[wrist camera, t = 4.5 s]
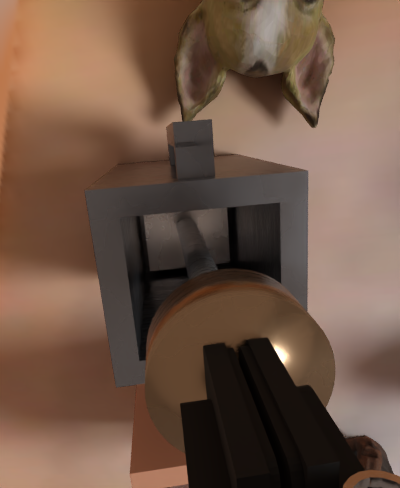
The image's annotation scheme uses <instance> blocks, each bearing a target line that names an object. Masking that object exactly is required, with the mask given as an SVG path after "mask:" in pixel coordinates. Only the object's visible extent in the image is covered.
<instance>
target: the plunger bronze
mask: <svg viewBox="0 0 400 488" xmlns="http://www.w3.org/2000/svg"><path fill="white" fill-rule="evenodd" d="M143 216H144V225H145V233H146V241H147V250H148V258H149V267H150V271H156V270H165V269H174V268H184V267H186V269H187V273H188V277H189V280H188V281H187V282H185V283H183V284H182V285H180V286H179V287H178V288H176V289H175V290H174V291H173V292H172V293H171V294H170V295H169V296H168V297H167V298H166V299H165V300H164V301H163V303H162V304H161V305H160V306H159V308H158V310H157V311H156V313H155V315H154V317H153V319H152V322H151V324H150V327H149V331H148V335H147V344H146V366H145V400H146V405H147V409H148V412H149V415H150V417H151V420H152V421H153V423H154V425H155V427H156V428H157V430H158V431H159V432H160V434H161V435H162V436H163V437H164V438H165V439H166V440H167V441H168V442H169V443H170V444H171V445H173V446H174V447H175V448H177V449H178V450H180V451H181V452H183V453H185V447H184V437H183V427H182V418H181V408H180V403H185V402H192V401H199V400H206V399H207V394H206V381H205V369H204V357H203V346H204V345H211V344H219V343H224V344H225V346H226V348H233V349H234V351H235V354H236V356H237V359H238V361H239V347H240V346H245V343H246V340H249V339H257V338H265V337H268V339H269V340H270V342H271V344H272V345H273V347H274V349H275V351H276V352H277V354H278V356H279V357H280V359H281V361H282V363H283V364H284V366H285V368H286V370H287V371H288V373H289V375H290V376H291V378H292V380H293V382H294V383H295V385H296V386H302V385H309V386H311V387H312V389H313V390H314V391H315V393H316V394H317V396H318V397H319V399H320V401H321V402H322V404H323V405H324V407H325V408H326V406H327V404H328V402H329V399H330V397H331V394H332V390H333V386H334V380H335V361H334V356H333V351H332V348H331V346H330V343H329V341H328V339H327V337H326V335H325V333H324V332H323V330H322V329H321V328H320V326H319V325H318V324H317V323H316V322H315V320H314V319H313V318H312V317H311V316H310V315H309V313H308V312H307V311H306V310H305V309H304V308H303V306H302V305H301V304H300V303H299V302H298V301H297V300H296V298H295V297H294V296H293V295H292V294H291V293H290V292H289V291H288V290H287V289H286V288H285V287H284V286H283V285H282V284H280V283H279V282H278V281H276V280H275V279H273V278H271V277H269V276H267V275H265V274H262V273H259V272H256V271H252V270H247V269H236V268H232V269H220V270H218V269H217V267H216V265H215V264H220V263H229V262H230V254H229V236H228V217H227V207H226V208H216V209H205V210H195V211H184V212H174V213H164V214H153V215H143Z"/></svg>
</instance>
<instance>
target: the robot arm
mask: <svg viewBox="0 0 400 488" xmlns="http://www.w3.org/2000/svg"><path fill="white" fill-rule="evenodd" d="M203 357H204V369H205V381H206V394H207V399H206V400H199V401H192V402H185V403H180V408H181V418H182V427H183V437H184V447H185V456H186V466H187V475H188V485H189V488H400V477H399V476H397V475H394V474H391V473H388V472H385V471H377V470H367V471H365V469H364V468H363V466H362V465H361V463H360V462H359V460H358V458H357V457H356V455H355V454H354V452H353V451H352V449H351V447H350V446H349V444H348V443H347V441H346V440H345V438H344V437H343V435H342V433H341V432H340V430H339V429H338V427H337V426H336V424H335V422H334V421H333V419H332V418H331V416H330V415H329V413H328V412H327V410H326V408H325V407H324V405H323V404H322V402H321V401H320V399H319V397H318V396H317V394H316V393H315V391H314V390H313V389H312V387H311V386H309V385H302V386H296V385H295V383H294V382H293V380H292V378H291V376H290V375H289V373H288V371H287V370H286V368H285V366H284V364H283V363H282V361H281V359H280V357H279V356H278V354H277V352H276V351H275V349H274V347H273V345H272V344H271V342H270V340H269V339H268V337H265V338H257V339H249V340H246V343H245V346H240V347H239V361H238V359H237V356H236V354H235V351H234V349H233V348H226V346H225V344H224V343H219V344H211V345H204V346H203Z"/></svg>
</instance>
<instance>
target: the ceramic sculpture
mask: <svg viewBox="0 0 400 488" xmlns="http://www.w3.org/2000/svg"><path fill="white" fill-rule="evenodd" d="M322 7H323V0H202V2H201V3H200V5H199V6H198V7H197V8H196V9H195V10H194V11H193V12H192V13H191V14H190V15H189V16H188V18H187V20H186V21H185V23H184V25H183V27H182V28H181V30H180V32H179V41H178V47H177V52H176V55H175V58H174V63H175V78H176V86H177V95H178V101H179V104H180V107H181V115H182V121H183V122H184V121H192V120H193V118H194V117H195V116H196V114H197V113H198V112H199V111H201V110H202V109H203V108H204V107H205V106H206V105H208V104H209V103H210V102H211V101H212V100H214V99H215V98H216V97H217V96H218V94H219V93H220V91H221V89H222V86H223V83H224V81H225V78H226V72H227V70H229V69H232V70H234V71H236V72H238V73H240V74H243V75H246V76H249V77H254V78H257V77H263V76H268V75H273V74H277V73H282V72H283V75H282V80H281V89H282V92H283V95H284V97H285V98H286V99H287V100H288V101H289V102H290V103H291V104H292V105H293V106H294V107H295V108H296V109H297V110H298V111H299V112H300V113H301V114H302V115H303V117H304V118H305V120H306V121H307V122H308V124H309V125H310V126H311V127H312V128H316V127H317V124H318V118H319V108H320V105H321V102H322V99H323V96H324V94H325V91H326V87H327V84H328V82H329V80H328V77H329V76H330V74H331V73H332V68H333V65H334V56H333V47H334V42H335V38H334V35H333V32H332V29H331V26H330V24H329V23H328V21H327V20H326V18H325V17H324V15H323V14H322Z"/></svg>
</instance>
